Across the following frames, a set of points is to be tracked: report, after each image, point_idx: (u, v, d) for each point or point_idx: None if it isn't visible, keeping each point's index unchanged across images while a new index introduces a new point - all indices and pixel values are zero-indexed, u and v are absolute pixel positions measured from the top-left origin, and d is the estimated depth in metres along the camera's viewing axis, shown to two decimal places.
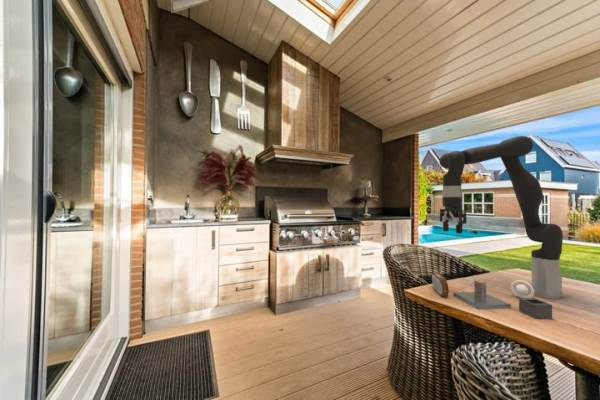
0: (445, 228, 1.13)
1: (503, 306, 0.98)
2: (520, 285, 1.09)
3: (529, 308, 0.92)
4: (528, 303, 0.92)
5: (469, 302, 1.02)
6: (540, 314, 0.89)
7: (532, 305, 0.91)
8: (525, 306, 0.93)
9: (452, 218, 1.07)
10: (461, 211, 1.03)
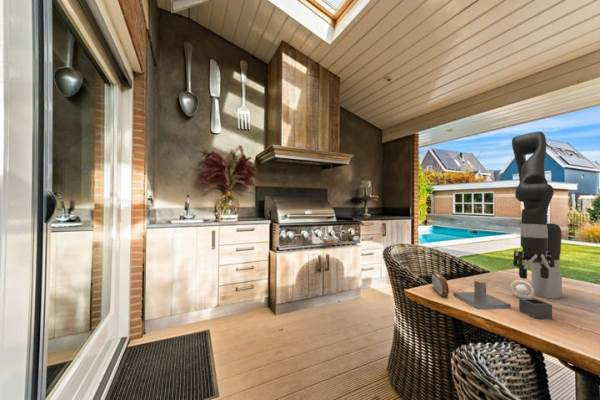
0: None
1: (503, 306, 0.98)
2: (520, 285, 1.09)
3: (529, 308, 0.92)
4: (528, 303, 0.92)
5: (469, 302, 1.02)
6: (540, 314, 0.89)
7: (532, 305, 0.91)
8: (525, 306, 0.93)
9: (544, 262, 0.91)
10: None
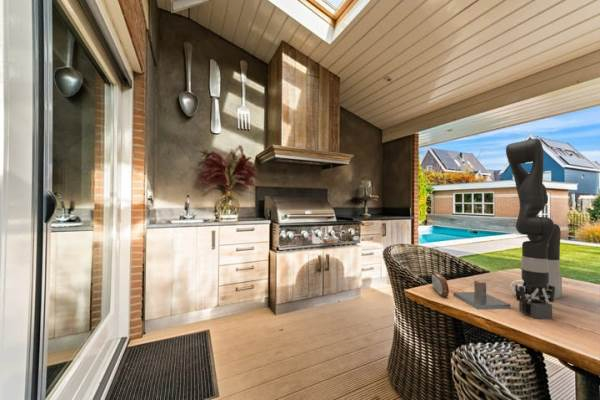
0: None
1: (503, 306, 0.98)
2: (520, 285, 1.09)
3: None
4: None
5: (469, 302, 1.02)
6: (540, 314, 0.89)
7: (532, 305, 0.91)
8: None
9: (544, 296, 0.91)
10: None
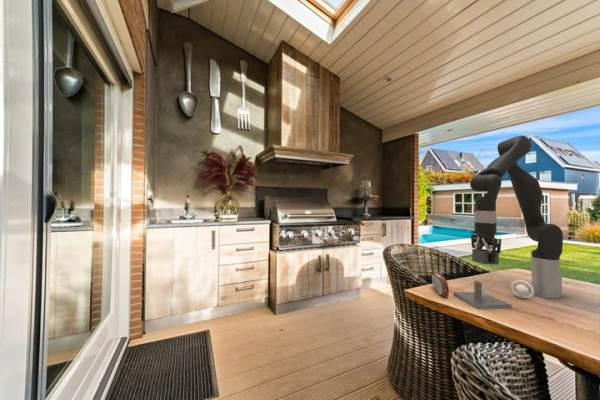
0: None
1: (503, 306, 0.98)
2: (520, 285, 1.09)
3: None
4: None
5: (469, 302, 1.02)
6: None
7: None
8: None
9: None
10: None
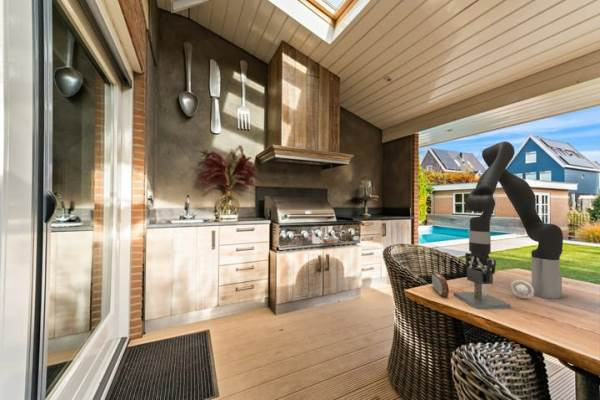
0: None
1: (503, 306, 0.98)
2: (520, 285, 1.09)
3: None
4: None
5: (469, 302, 1.02)
6: None
7: None
8: None
9: None
10: None
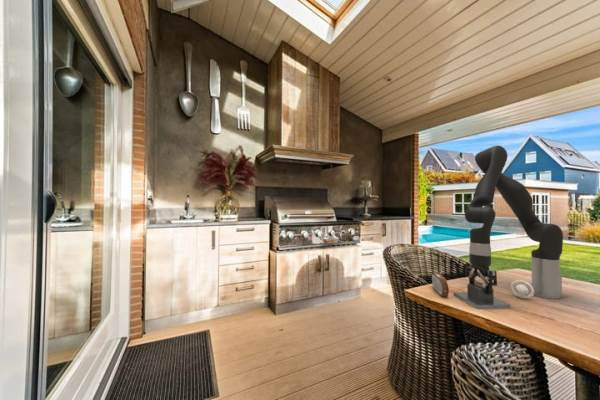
0: None
1: (503, 306, 0.98)
2: (520, 285, 1.09)
3: None
4: None
5: (469, 302, 1.02)
6: None
7: None
8: (484, 294, 1.02)
9: None
10: None
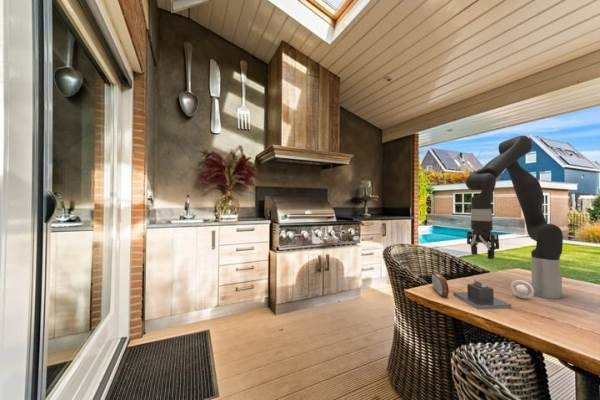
0: None
1: (503, 306, 0.98)
2: (520, 285, 1.09)
3: (488, 294, 1.02)
4: (487, 290, 1.02)
5: (469, 302, 1.02)
6: None
7: (490, 290, 1.02)
8: (484, 294, 1.02)
9: None
10: None
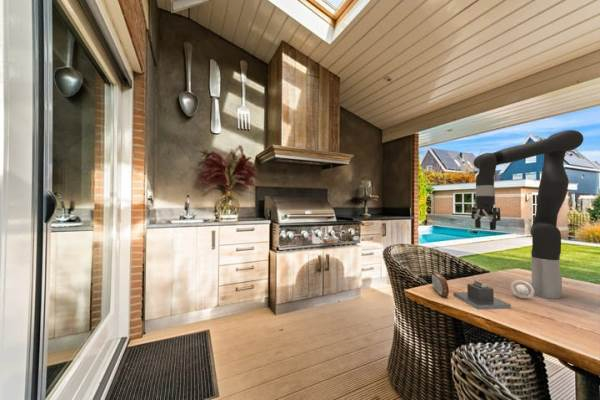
0: None
1: (503, 306, 0.98)
2: (520, 285, 1.09)
3: (488, 294, 1.02)
4: (487, 290, 1.02)
5: (469, 302, 1.02)
6: None
7: (490, 290, 1.02)
8: (484, 294, 1.02)
9: None
10: None
